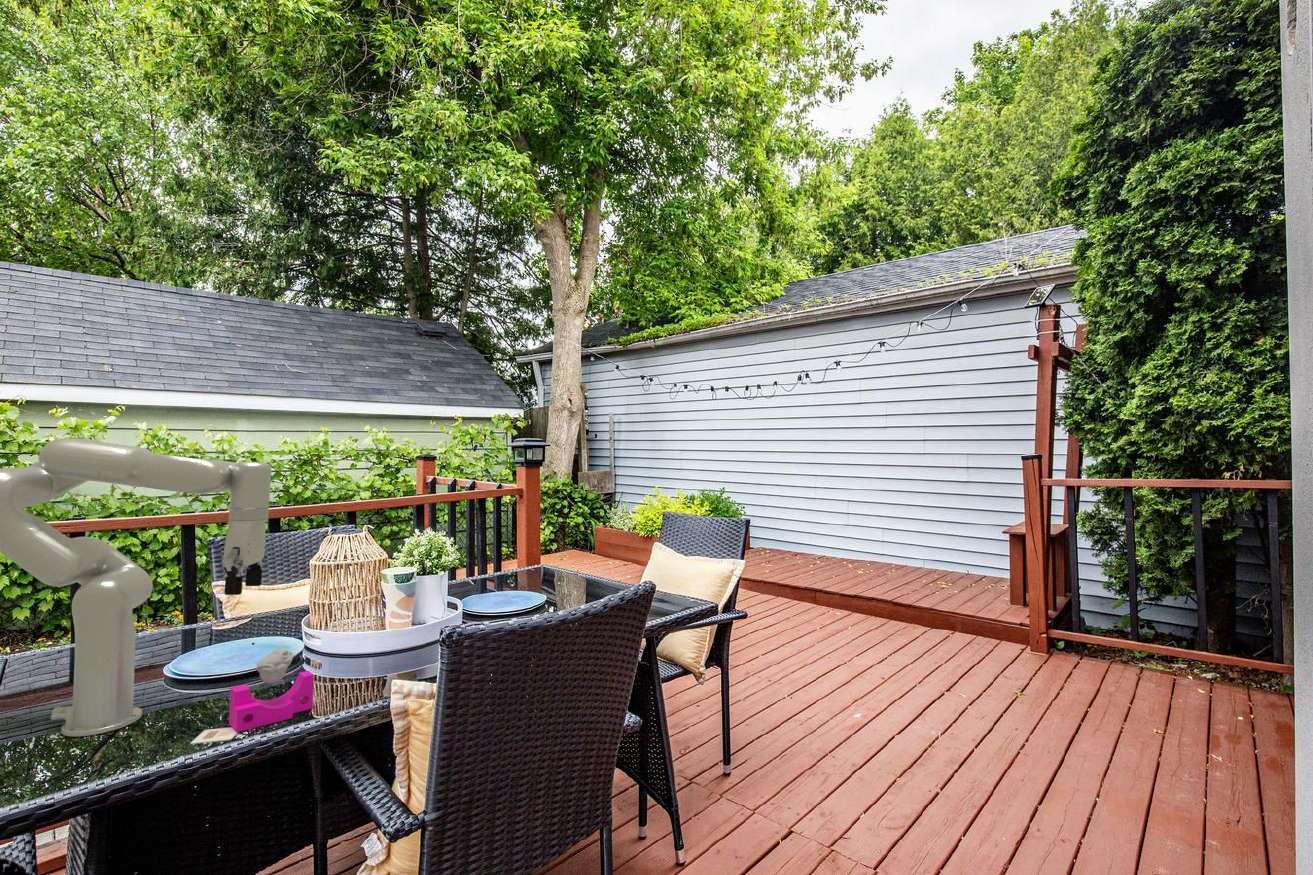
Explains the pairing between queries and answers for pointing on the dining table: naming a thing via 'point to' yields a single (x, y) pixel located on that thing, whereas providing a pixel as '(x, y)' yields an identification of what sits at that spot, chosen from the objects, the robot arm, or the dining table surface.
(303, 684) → the toy block
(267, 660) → the frog figurine
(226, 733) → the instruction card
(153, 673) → the dining table surface
